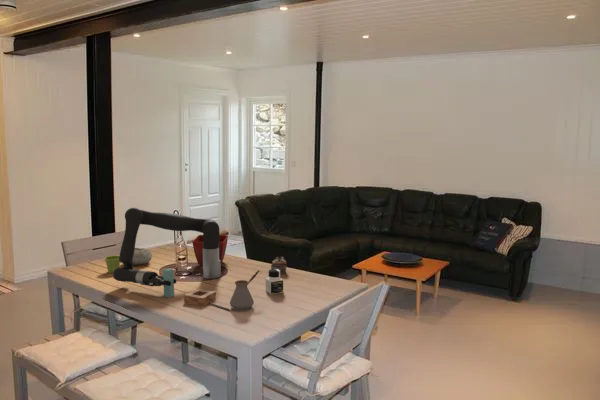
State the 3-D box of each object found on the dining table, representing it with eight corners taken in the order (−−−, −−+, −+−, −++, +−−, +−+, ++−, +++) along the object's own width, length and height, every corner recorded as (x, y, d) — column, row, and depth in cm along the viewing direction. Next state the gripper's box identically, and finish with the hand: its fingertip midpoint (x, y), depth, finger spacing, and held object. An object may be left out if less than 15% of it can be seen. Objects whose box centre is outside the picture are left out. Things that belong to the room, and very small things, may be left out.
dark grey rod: (208, 304, 240) (208, 302, 240) (210, 303, 241) (209, 302, 240) (229, 311, 231) (228, 309, 231) (230, 310, 232) (230, 308, 232)
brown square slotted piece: (197, 296, 251) (197, 288, 251) (215, 299, 247) (215, 291, 246) (184, 302, 242) (184, 295, 241) (202, 306, 237) (202, 298, 236)
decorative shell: (144, 258, 323) (144, 243, 321) (157, 264, 310) (156, 248, 308) (117, 263, 311) (117, 248, 309) (129, 269, 298) (129, 253, 296)
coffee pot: (244, 314, 227) (244, 283, 225) (224, 309, 233) (224, 279, 231) (269, 300, 246) (269, 271, 244) (250, 296, 251) (250, 268, 249)
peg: (168, 294, 254) (167, 268, 252) (174, 295, 252) (173, 269, 250) (164, 296, 251) (163, 269, 249) (169, 297, 249) (168, 270, 247)
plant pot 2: (223, 268, 300) (223, 241, 298) (192, 268, 301) (191, 241, 298) (228, 260, 319) (228, 235, 317) (199, 260, 320) (198, 234, 317)
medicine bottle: (271, 294, 254) (270, 272, 252) (265, 290, 260) (265, 268, 258) (283, 292, 257) (283, 270, 255) (277, 288, 263) (277, 267, 262)
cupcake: (284, 270, 298) (284, 254, 296) (288, 274, 289) (288, 258, 287) (268, 271, 295) (268, 255, 293) (273, 276, 286) (273, 259, 284)
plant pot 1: (116, 274, 288) (115, 260, 286) (101, 273, 290) (101, 259, 288) (124, 270, 297) (124, 256, 295) (110, 269, 299) (110, 255, 297)
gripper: (136, 274, 249) (163, 279, 242) (155, 267, 262) (181, 271, 255) (137, 289, 250) (164, 293, 243) (156, 281, 263) (182, 285, 256)
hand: (173, 282), depth 249 cm, fingers closed on peg, 3 cm apart
